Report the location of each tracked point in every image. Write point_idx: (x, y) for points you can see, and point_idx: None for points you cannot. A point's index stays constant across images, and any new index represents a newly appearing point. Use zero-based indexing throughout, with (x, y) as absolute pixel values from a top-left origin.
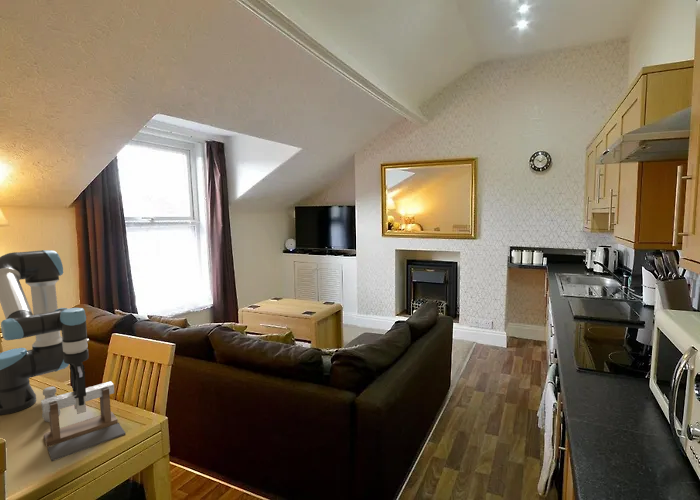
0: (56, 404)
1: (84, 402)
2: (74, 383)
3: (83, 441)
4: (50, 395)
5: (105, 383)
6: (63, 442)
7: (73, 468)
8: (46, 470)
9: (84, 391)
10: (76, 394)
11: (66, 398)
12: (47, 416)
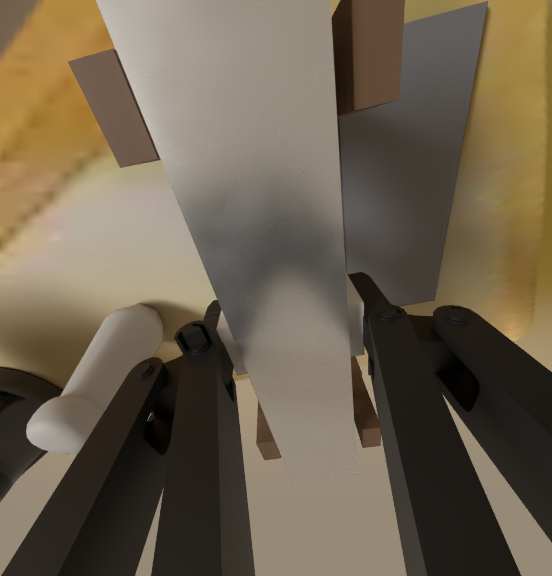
0: (378, 424)
1: None
2: (241, 463)
3: (397, 220)
4: (97, 404)
5: (150, 33)
6: None
7: (537, 241)
8: (469, 303)
9: (511, 357)
10: (373, 374)
11: (352, 404)
12: (160, 342)
